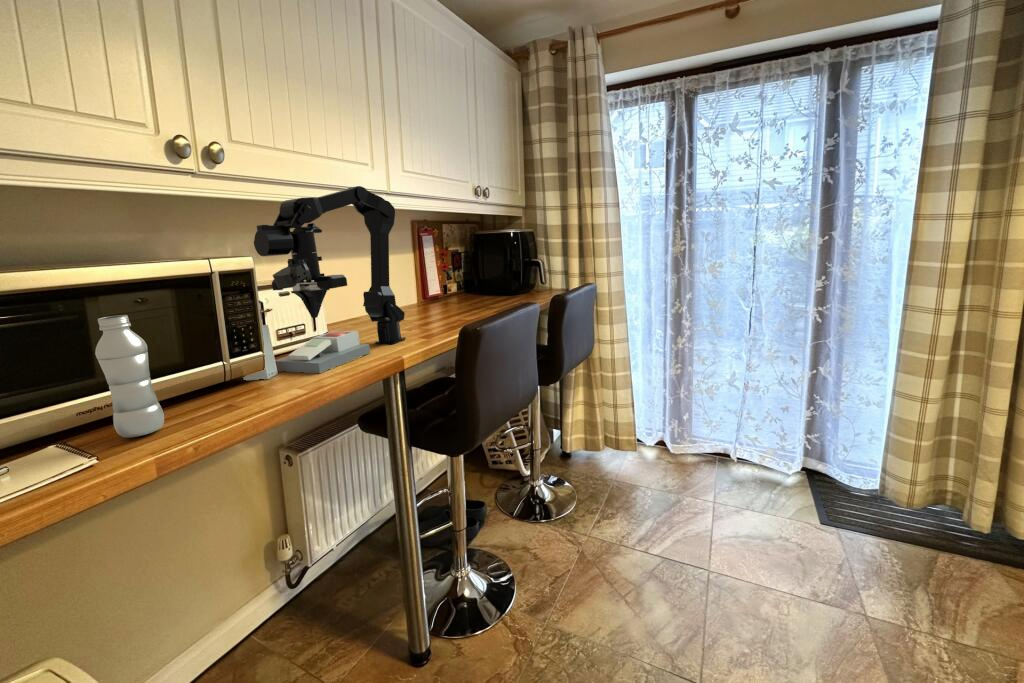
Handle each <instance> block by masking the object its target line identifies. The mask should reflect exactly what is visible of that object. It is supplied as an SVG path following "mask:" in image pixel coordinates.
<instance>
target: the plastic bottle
mask: <svg viewBox="0 0 1024 683" xmlns="http://www.w3.org/2000/svg"><path fill="white" fill-rule="evenodd" d="M97 323H98V325H99V328H98V329H99V331H102V335H101V337H100V339H99V340H98V343H97V344H96V347H95V352H94V354H95V357H96V359H97V361H98V364H99V366H100V368H101V370H102V372H103V374H104V377H105V381H106V382H107V385H108V389H109V391H110V397H111V403H112V404H111V405H112V410H113V413H112V420H113V421H112V422H113V427H114V429H115V431H116V433H117V435H119V436H121V437H122V438H126V439H127V438H128V439H129V438H137V437H141V436H142V437H143V436H146V435H148V434H152V433H154V432H157V431H158V430H161V428H163V425H164V423H165V414H164V411H163V408H162V406H161V405H160V402H159V400H158V397H157V394H156V393H155V392H156V391H155V389H154V386H153V384H152V378H151V372H150V367H149V365H150V364H149V352H148V350H149V349H148V344H147V343H146V341H145V339H143V338H142V337H141V336H140V335H138V334H137V333H135V332H134V331H133V330H132V329H130V327H132V324H131V322H130V319H129V316H128V314H120V315H111V316H104V317H100V318H97Z"/></svg>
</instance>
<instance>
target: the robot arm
mask: <svg viewBox="0 0 1024 683" xmlns="http://www.w3.org/2000/svg"><path fill="white" fill-rule="evenodd" d="M350 205H352V206H353V207H354V209H355V210H356V212H357V213H359V214H360V215H361V216H363V219H364V220H363V221H364V225H365V227H366V229H367V231H368V232H369V234H370V287H369V289H368V291H363V294H362V296H363V305H362V307H364V309H365V310H364V311H365V313H367V315H368V316H369V318H370V321H371V322H373V323H374V322H376V326H377V327H376V331H377V339H378V340H376V341H374V343H375V345H376V344H377V345H378V344H379V345H380V344H383V345H394V344H397V343H399V342H402V341H404V340H406V337H405V336H404V337H402V335H401V334H402V333H401V326H400V322H401V321H405V320H404V319H405V314H406V312H404V311H403V310H402V309H401V308H400V307H399V306H398V305H397V301H396V295H395V293H394V292H393V289H391V286H390V243H389V242H390V237H389V236H390V233H391V231H392V229H393V227H394V225H395V218H396V210H395V206H393V204H392V203H391V202H390V201H388V200H386V199H384V198H383V197H382V196H380V195H377V194H375V193H373V192H371V191H369V190H368V189H366V188H365V187H363V186H361V185H357V186H356V185H355V186H351V187H348V188H346V189H343V190H340V191H339V190H338V191H336V192H333V193H332V192H331V193H329V194H324V195H321V196H318V197H317V196H313V197H311V196H310V197H299V198H293V199H292V198H291V199H287V200H283V201H282V202H280V206H279V213H278V214H277V217H276V219H275V220H274V222H273V225H268V224H257V225H256V232H255V234H254V239H253V245H254V249H255V251H256V253H257V254H258V255H259V256H260V257H272V256H273V257H274V256H285V255H289V254H290V253H291V254H290V255H291V258H287V259H288V260H287V266H285V267H283V268H282V269H280V270H278V271H277V272H275V273H274V274H272V277H273V280H272V282H271V287H272V291H283V290H284V289H290V288H291V289H292V291H291V290H290V293H291V294H294V295H296V296H297V297H299V299H301V302H302V303H303V304H304V306H305V308H306V310H307V311H308V313H309V315H310V317H311V318H312V319H316V318H318V316H319V314H320V310H321V308H322V305H323V302H324V299H325V296H326V294H327V292H328V291H330V289H337V288H342V287H347V286H348V280H347V277H346V276H345V275H344V274H330V275H329V274H328V275H325V273H324V272H323V273H321V269H320V261H323V257H322V256H321V255H320V256H318V251H317V249H318V248H317V244H316V238H315V234H321V233H323V230H322V228H320V227H318V226H317V225H316V224H315V223H314V221H316V220H318V219H319V218H321V217H322V216H323V215H324V214H325V213H327V212H331V211H333V210H334V211H335V210H337V209H341V208H345V207H346V206H350ZM305 224H306V226H304V225H305ZM291 229H293V230H292V231H291Z"/></svg>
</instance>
